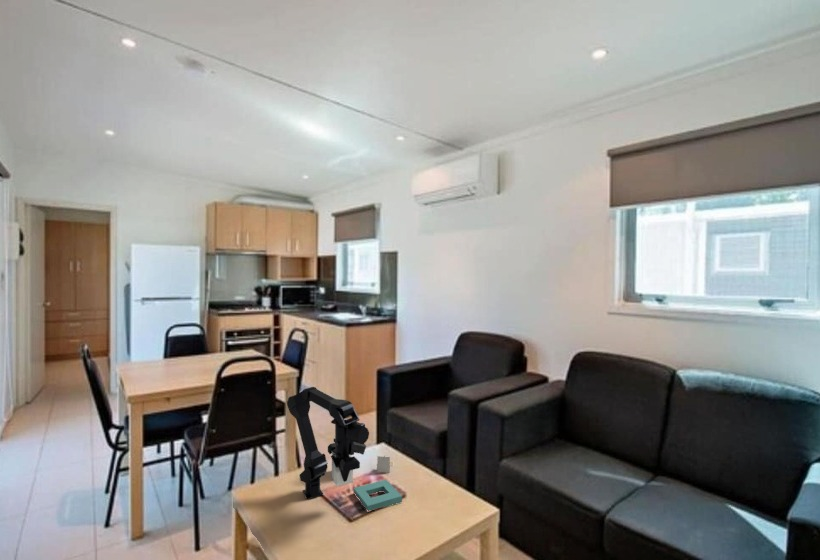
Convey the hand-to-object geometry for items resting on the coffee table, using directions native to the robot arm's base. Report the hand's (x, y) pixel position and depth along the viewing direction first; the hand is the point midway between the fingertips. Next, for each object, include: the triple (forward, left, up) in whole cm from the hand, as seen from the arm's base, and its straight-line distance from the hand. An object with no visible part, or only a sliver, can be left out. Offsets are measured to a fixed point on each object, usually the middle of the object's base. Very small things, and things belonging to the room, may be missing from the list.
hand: (343, 478), depth 154 cm
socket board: (0, +14, -11) cm, 18 cm away
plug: (0, 0, -1) cm, 1 cm away
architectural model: (-18, +25, -12) cm, 33 cm away
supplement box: (-24, +8, -11) cm, 28 cm away
